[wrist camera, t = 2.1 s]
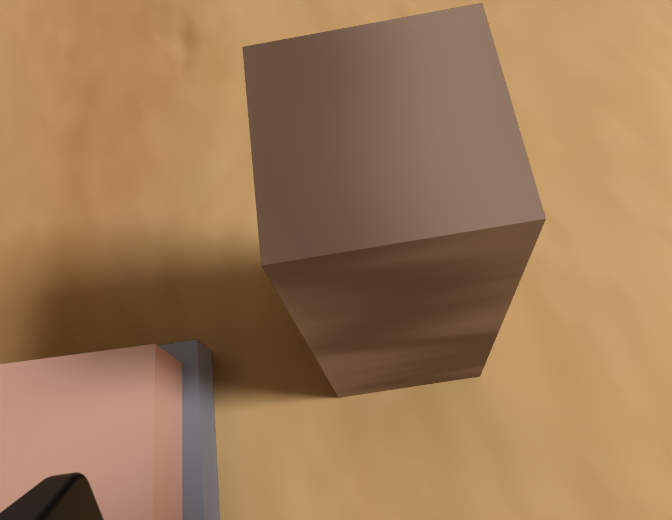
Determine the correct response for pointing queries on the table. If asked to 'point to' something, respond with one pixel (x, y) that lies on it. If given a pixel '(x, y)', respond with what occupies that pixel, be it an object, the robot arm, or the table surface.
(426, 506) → the table surface
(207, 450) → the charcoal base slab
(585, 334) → the table surface
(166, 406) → the terracotta top slab
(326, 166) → the walnut pillar
